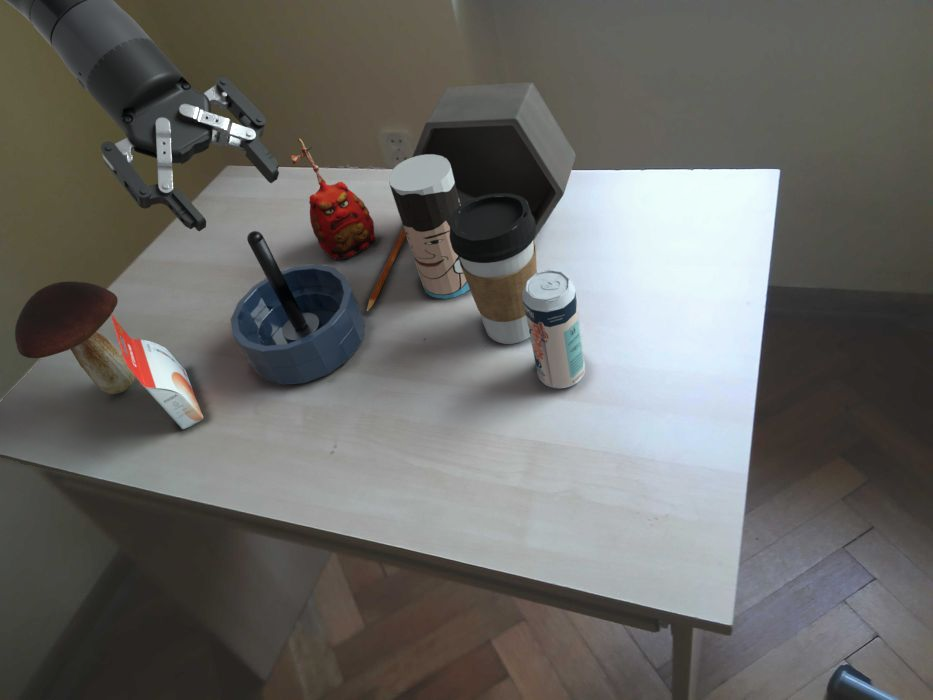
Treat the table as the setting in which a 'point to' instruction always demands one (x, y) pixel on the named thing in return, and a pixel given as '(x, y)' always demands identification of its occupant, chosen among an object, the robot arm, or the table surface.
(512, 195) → the coffee cup
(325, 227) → the red clay folk toy
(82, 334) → the decorative mushroom
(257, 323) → the bowl
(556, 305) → the beer can
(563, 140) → the grey hexagonal shelf
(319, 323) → the rod on round base
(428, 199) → the cup
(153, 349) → the ink box
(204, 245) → the table surface
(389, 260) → the pencil
